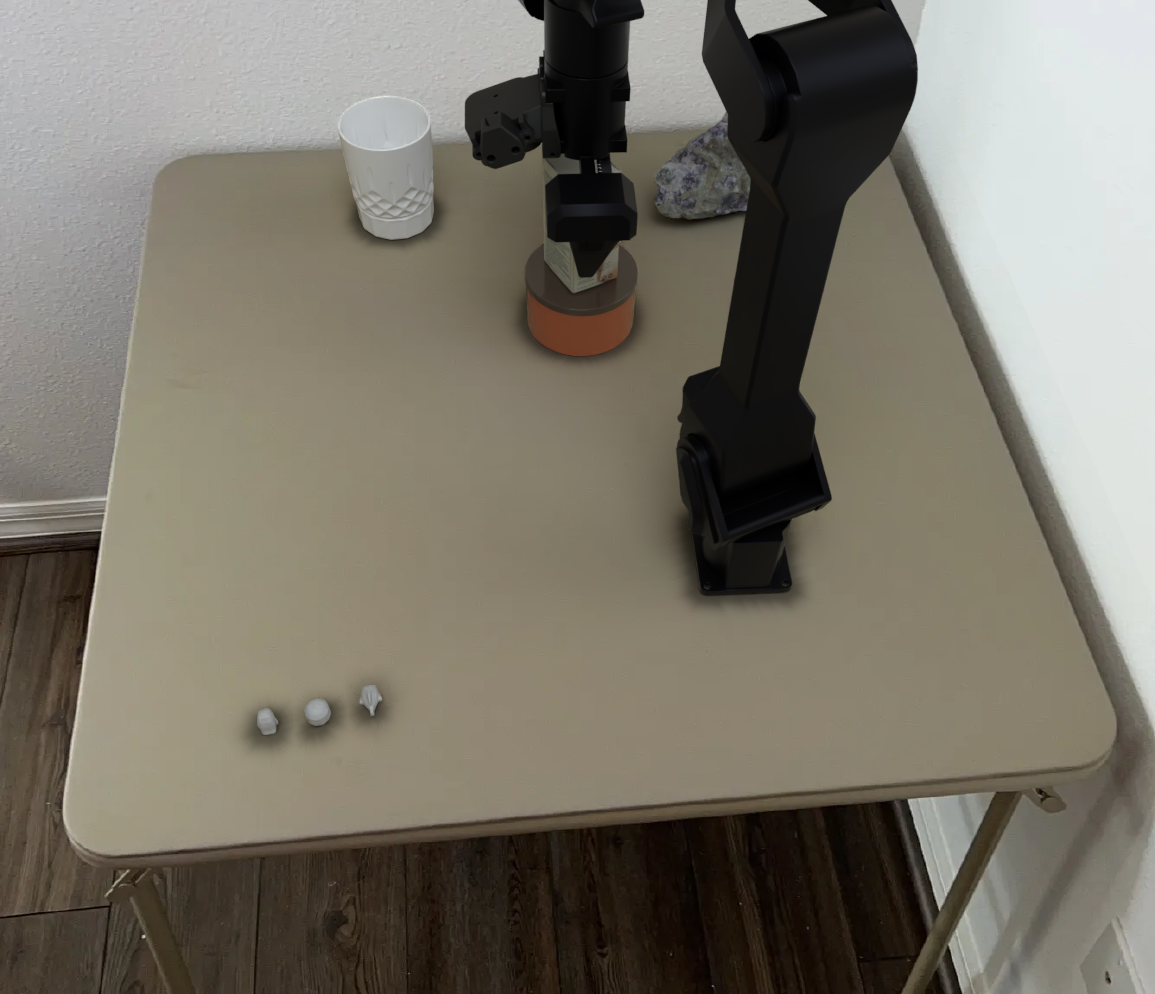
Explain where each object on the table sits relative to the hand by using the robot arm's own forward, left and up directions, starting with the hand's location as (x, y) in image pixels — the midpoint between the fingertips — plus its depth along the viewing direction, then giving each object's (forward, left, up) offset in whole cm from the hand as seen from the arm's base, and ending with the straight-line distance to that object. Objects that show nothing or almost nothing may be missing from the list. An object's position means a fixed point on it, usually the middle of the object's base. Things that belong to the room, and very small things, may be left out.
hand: (582, 236), depth 89 cm
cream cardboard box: (0, 0, -4) cm, 4 cm away
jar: (0, 0, -9) cm, 9 cm away
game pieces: (-36, +19, -9) cm, 42 cm away
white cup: (+14, +16, -9) cm, 23 cm away
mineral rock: (+16, -14, -9) cm, 23 cm away
